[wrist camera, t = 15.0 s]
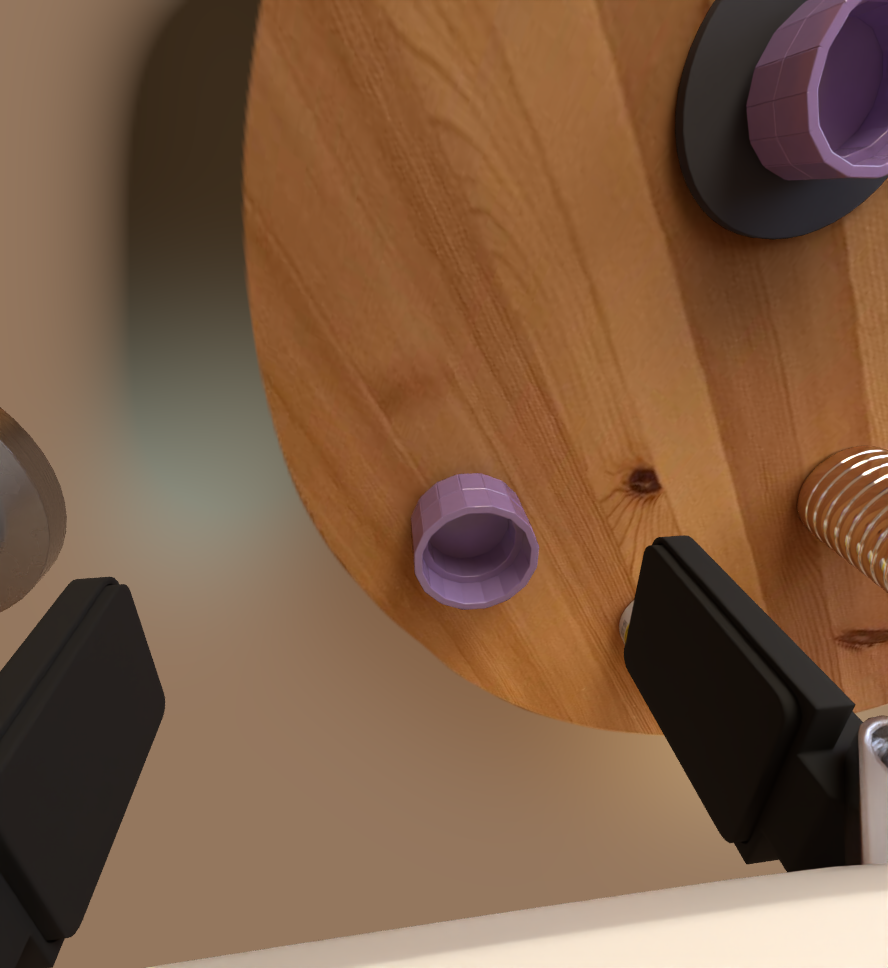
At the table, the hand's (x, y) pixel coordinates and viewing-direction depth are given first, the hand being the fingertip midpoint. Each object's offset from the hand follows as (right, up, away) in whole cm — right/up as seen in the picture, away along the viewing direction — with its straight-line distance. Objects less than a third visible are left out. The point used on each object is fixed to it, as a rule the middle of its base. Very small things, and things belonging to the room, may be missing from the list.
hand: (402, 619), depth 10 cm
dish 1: (+2, 0, +24) cm, 24 cm away
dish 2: (+17, +20, +14) cm, 30 cm away
